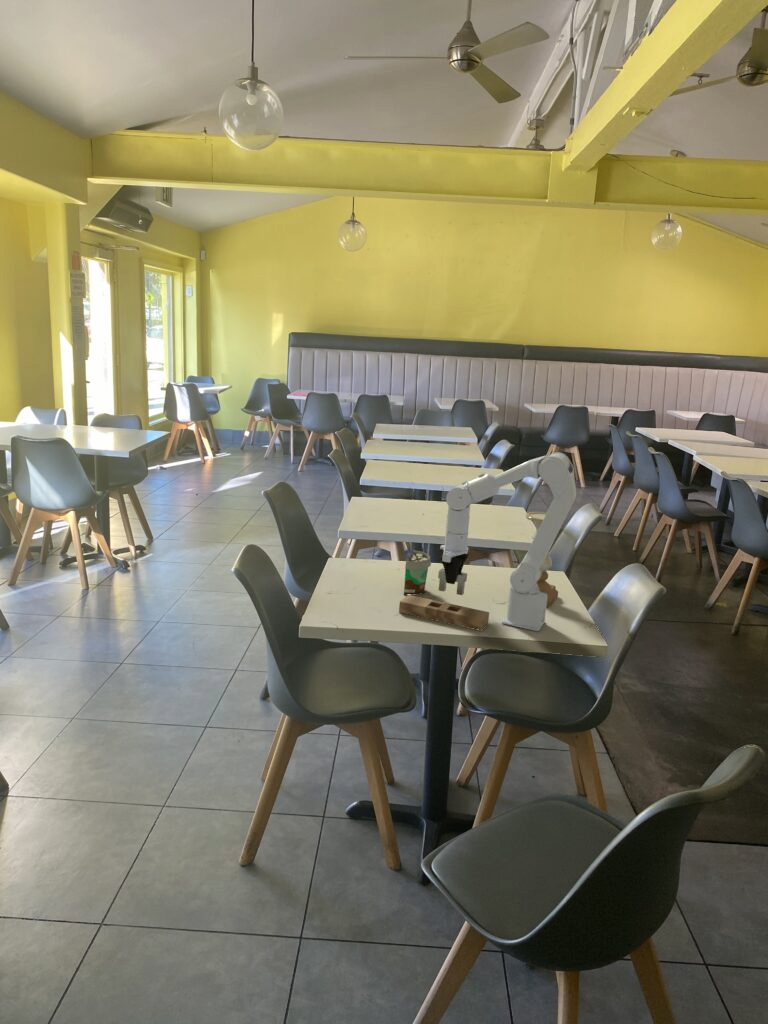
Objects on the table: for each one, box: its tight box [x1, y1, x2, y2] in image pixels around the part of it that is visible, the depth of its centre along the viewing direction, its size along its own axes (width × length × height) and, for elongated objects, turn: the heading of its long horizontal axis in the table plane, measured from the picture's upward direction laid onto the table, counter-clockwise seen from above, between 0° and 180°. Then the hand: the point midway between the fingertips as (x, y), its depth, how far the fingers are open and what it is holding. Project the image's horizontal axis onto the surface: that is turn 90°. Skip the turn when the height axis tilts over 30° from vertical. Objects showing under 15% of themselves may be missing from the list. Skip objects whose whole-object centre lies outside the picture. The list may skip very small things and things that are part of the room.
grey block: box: [437, 568, 468, 596], centre depth 191 cm, size 7×2×6 cm, turn 66°
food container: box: [403, 549, 432, 595], centre depth 202 cm, size 12×6×10 cm, turn 168°
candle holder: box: [525, 511, 559, 608], centre depth 202 cm, size 11×11×24 cm
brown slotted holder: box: [398, 595, 490, 631], centre depth 184 cm, size 22×6×3 cm, turn 66°
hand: (452, 581), depth 191 cm, fingers closed on grey block, 2 cm apart
